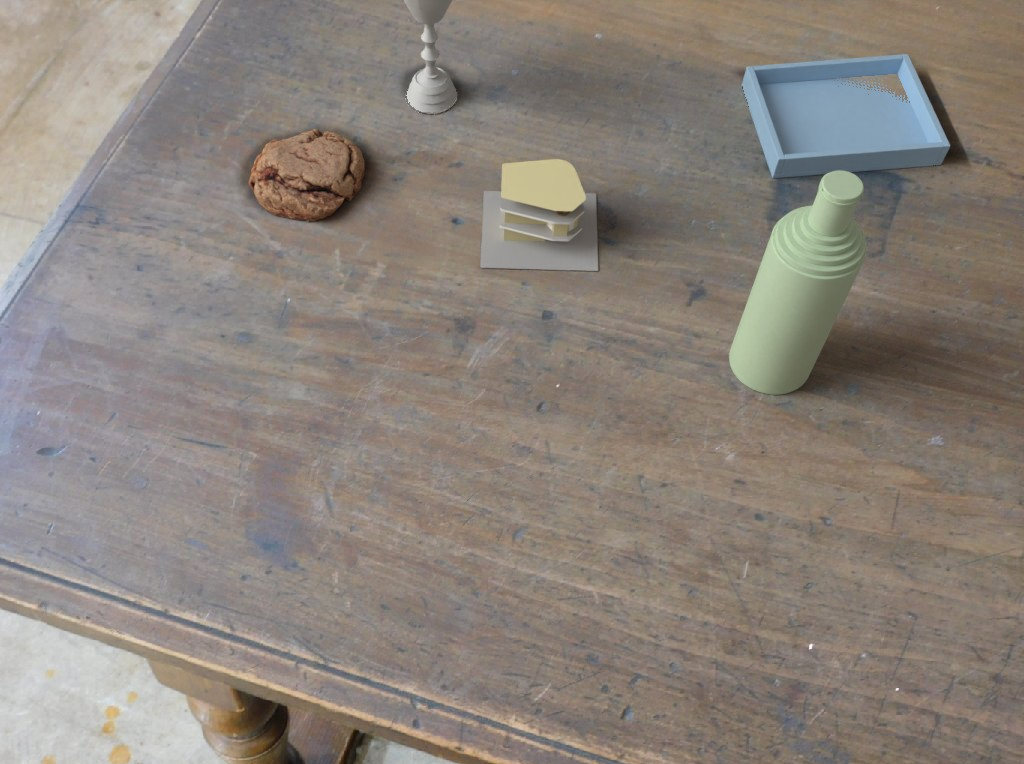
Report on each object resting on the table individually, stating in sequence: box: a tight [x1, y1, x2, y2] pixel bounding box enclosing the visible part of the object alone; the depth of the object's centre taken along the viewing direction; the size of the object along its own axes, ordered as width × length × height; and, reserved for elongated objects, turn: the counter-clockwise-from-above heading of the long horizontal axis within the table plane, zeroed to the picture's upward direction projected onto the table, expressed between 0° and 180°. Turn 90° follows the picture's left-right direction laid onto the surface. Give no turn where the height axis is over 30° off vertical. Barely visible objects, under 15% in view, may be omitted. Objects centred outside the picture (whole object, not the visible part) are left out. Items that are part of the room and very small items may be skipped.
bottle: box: [728, 170, 868, 396], centre depth 78 cm, size 6×6×20 cm
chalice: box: [403, 0, 458, 113], centre depth 95 cm, size 7×7×18 cm
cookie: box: [248, 128, 366, 222], centre depth 96 cm, size 10×11×3 cm
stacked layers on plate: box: [479, 158, 599, 272], centre depth 91 cm, size 10×9×6 cm
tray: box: [741, 53, 951, 179], centre depth 98 cm, size 15×12×2 cm
